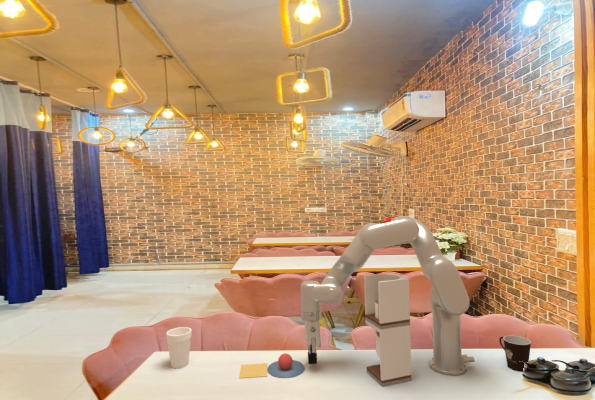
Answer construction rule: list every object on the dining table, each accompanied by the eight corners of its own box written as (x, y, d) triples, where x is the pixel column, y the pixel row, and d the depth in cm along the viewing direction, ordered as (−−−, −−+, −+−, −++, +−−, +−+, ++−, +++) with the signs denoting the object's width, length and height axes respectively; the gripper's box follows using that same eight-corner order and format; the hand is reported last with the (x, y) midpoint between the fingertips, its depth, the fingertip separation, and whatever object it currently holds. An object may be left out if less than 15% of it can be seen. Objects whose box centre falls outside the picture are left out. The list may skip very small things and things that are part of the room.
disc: (303, 359, 143) (302, 358, 143) (306, 376, 129) (306, 376, 129) (267, 361, 142) (267, 360, 142) (267, 379, 128) (267, 378, 128)
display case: (394, 367, 134) (391, 272, 134) (411, 380, 124) (408, 278, 124) (366, 372, 131) (364, 275, 130) (382, 386, 121) (379, 282, 120)
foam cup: (197, 361, 143) (196, 328, 143) (180, 372, 135) (179, 337, 135) (179, 357, 147) (178, 325, 147) (161, 367, 139) (160, 333, 139)
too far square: (267, 363, 140) (267, 363, 140) (267, 376, 130) (267, 375, 130) (241, 365, 139) (241, 364, 139) (239, 378, 129) (239, 377, 129)
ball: (275, 355, 137) (281, 367, 138) (276, 362, 132) (282, 375, 132) (287, 348, 138) (294, 360, 138) (289, 354, 133) (296, 367, 133)
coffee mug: (535, 374, 126) (535, 345, 126) (508, 372, 128) (508, 344, 128) (522, 359, 138) (521, 333, 138) (497, 357, 139) (497, 331, 139)
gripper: (324, 320, 129) (325, 372, 129) (318, 307, 144) (319, 353, 144) (303, 321, 128) (304, 373, 128) (299, 308, 143) (300, 355, 143)
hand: (312, 362), depth 136 cm, fingers closed
